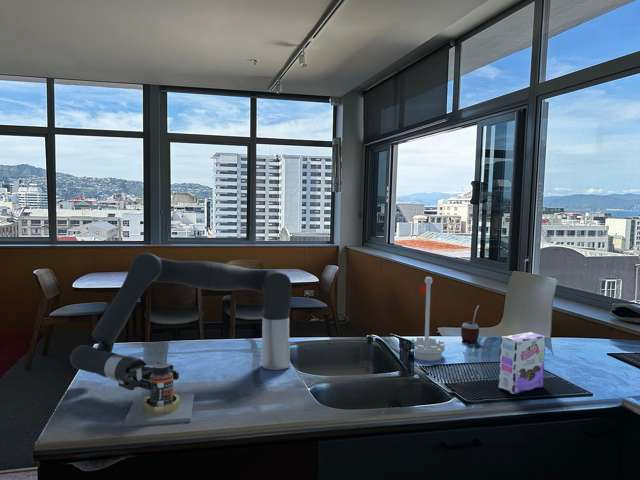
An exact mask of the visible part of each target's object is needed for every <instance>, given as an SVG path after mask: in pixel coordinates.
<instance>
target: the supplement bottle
mask: <svg viewBox="0 0 640 480" xmlns="http://www.w3.org/2000/svg"><path fill="white" fill-rule="evenodd" d="M169 365H170V364H169V363H165V362H160V364H157V363H155V365H153V366H154V372H153V373H152V374H151V376H150V381H153V389H152V390H149V396H150V405H153V406H162V405H167V404H170V403H172V402H173V394H174V379H173V373H172V372H171V371H170V370H169V369H170V368H169Z"/></svg>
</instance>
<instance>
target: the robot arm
mask: <svg viewBox="0 0 640 480" xmlns="http://www.w3.org/2000/svg"><path fill="white" fill-rule="evenodd" d="M152 283H174V284H179V285H183V286H188V287H192V288H196V289H197V288H198V289H203V290H209V291H217V292H218V291H219V292H221V291H223V292H226V291H228V292H229V291H237V290H239V291H241V290H249V291H255V292H259V293H263V308H262V311H261V312H262V314H261V315H262V317H261V319H262V321H261V323H262V328H261V329H262V332H261V335H262V337H261V340H262V341H261V347H262V348H261V354H262V355H261V356H262V357H261V367H262V368H263V369H265V370H270V371H279V370H284V369H289V368H291V339H290V311H291V308H292V307H291V306H292V281H291V279H290V277H289V276H288V275H287V274H286V273H285V272H283V271H282V270H280V269H277V268H276V269H275V268H273V269H272V268H270V269H269V268H267V269H266V268H265V269H263V268H262V269H261V268H259V269H258V268H248V267H243V266H240V265H239V266H238V265H234V264H228V263H223V262H217V261H207V260H206V261H205V260H190V261H189V260H185V261H184V260H183V261H180V260H174V259H170V258H169V259H168V258H163V257H159V256H156V255H155V254H153V253H150V252H142V253H140V254H137V256H135V257H134V258H133V259H132V261H131V263H130V267H129V270H128V271H127V275H126V277H125V280H124V281H123V283H122V285H121V287H120V288H119V290H118V292H117V294H116V296H114V298H113V300H112V301H111V303H110V305H109V306H108V307H107V308H106V310H105V311H104V313H103V315H102V316H101V318H100V319H99V321H98V323H97V324H96V325H95V327H94V329H93V330H92V333H91V335H92V337H93V338H94V339H95V340H96V341H97V342H98V345H97V347H94V346H90V345H87V344H82V345H79V346H77V347H75V348H74V349H73V350H72V352H71V354H70V356H69V362H70V365H71V366H72V367H73V368H74V369H76V370H81V371H85V372H87V373H91V374H97V375H99V376H101V377H103V378H107V379H110V380H112V381H113V382H117V383H118V387H121V388H123V389H126V390H129V391H134V390H135V389H136V388H137V389H144V390H147V391H150V390H152V389H153V381H150V376H151V374H152V373H153V372H154V365H149V364H146V362H145V361H144V359H142V358H140V357H139V358H138V357H134V356H132V355H126V354H120V353H115V352H112V351H113V349H114V347H115V342H116V340H117V339H118V337H119V335H120V333H121V332H122V330H123V328H124V327H125V326H126V323H127V322H128V320H129V318H130V316H131V315H132V313H133V311H134V308H135V306H136V304H137V303H138V301H139V300H140V298H141V296H142V295H143V293H144V292H145V290H146V289H147V288H148V287H149V286H150V285H151V284H152ZM160 363H161V362H160V361H159V362H156V364H160ZM169 368H170V369H169V370H170V371H171V372H172V373H173V381H176V380H179V376H180V375H179V371H177V370H174V365H173V364H169Z"/></svg>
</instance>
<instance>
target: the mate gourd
mask: <svg viewBox="0 0 640 480" xmlns="http://www.w3.org/2000/svg"><path fill="white" fill-rule="evenodd" d="M479 307H480V305H479V304H478V305H477V307H476V309H475V310H474V315H473V319H472V321H465V322H463V324H462V325H461V328H460V331H461V333H460V334H461V339H462V340H461V342H462V343H466V344H467V343H468V344H469V345H472V344H478V339H479V335H480V328H479V325H478V324H477V322H475V321H476V320H475V319H476V316H477V311H478V309H479Z"/></svg>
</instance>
